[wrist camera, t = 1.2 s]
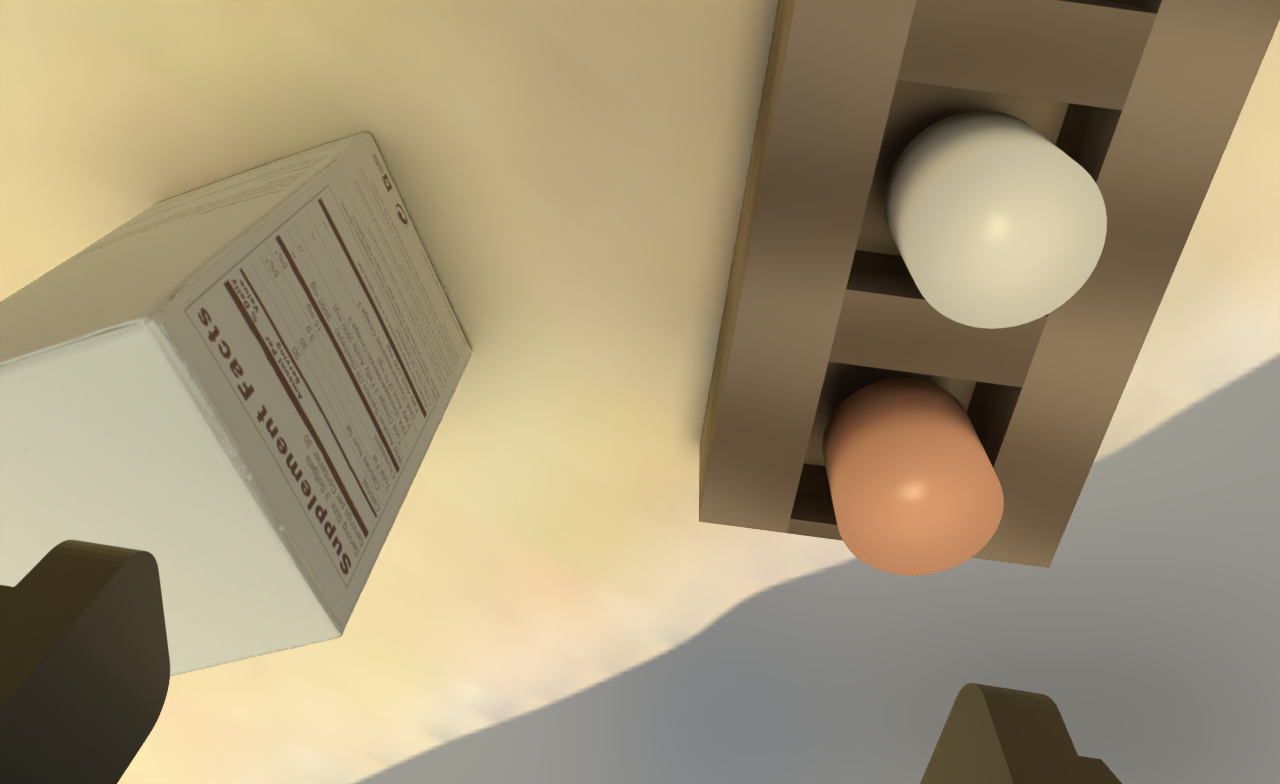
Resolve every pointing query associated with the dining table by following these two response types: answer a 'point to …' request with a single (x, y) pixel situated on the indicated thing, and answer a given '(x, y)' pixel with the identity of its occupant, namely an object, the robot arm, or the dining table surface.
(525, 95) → the dining table surface
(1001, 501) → the terracotta button
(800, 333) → the frame
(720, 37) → the dining table surface
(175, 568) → the supplement box
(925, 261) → the cream pill shape
